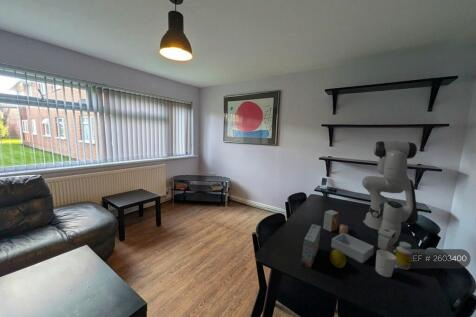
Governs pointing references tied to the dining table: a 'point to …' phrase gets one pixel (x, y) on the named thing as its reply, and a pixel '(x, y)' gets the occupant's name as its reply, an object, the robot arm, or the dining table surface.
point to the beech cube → (390, 249)
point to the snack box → (311, 246)
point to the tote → (352, 247)
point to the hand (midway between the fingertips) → (387, 251)
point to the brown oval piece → (343, 229)
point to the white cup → (385, 263)
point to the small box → (330, 220)
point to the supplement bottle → (403, 255)
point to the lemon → (337, 258)
